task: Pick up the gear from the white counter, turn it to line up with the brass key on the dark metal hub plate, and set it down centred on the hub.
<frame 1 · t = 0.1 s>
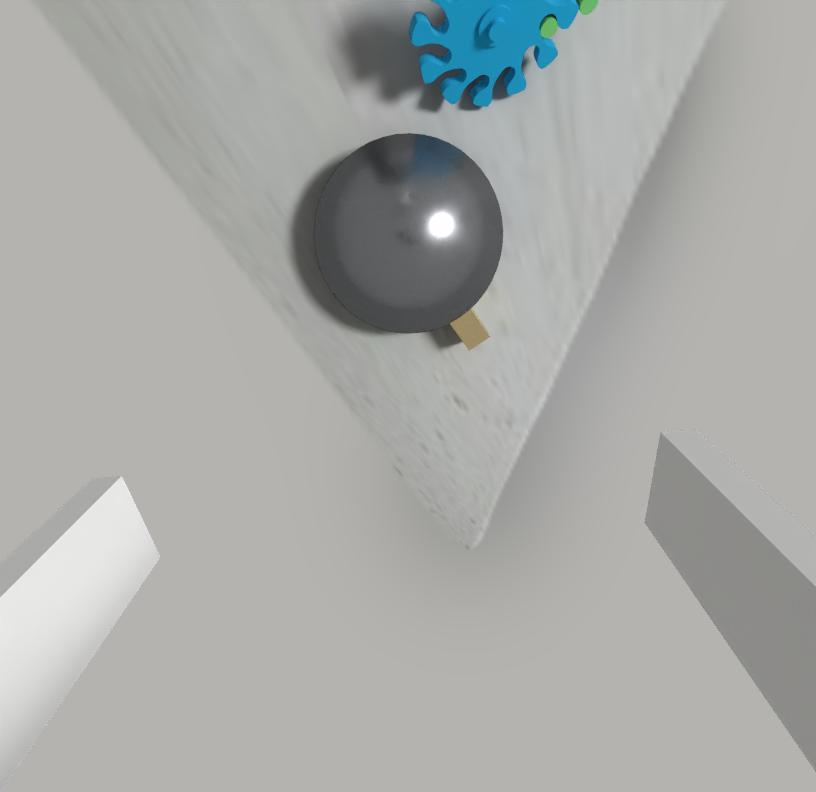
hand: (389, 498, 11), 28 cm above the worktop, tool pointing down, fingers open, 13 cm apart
hub: (408, 239, 35), on the worktop
gear: (491, 37, 29), on the worktop
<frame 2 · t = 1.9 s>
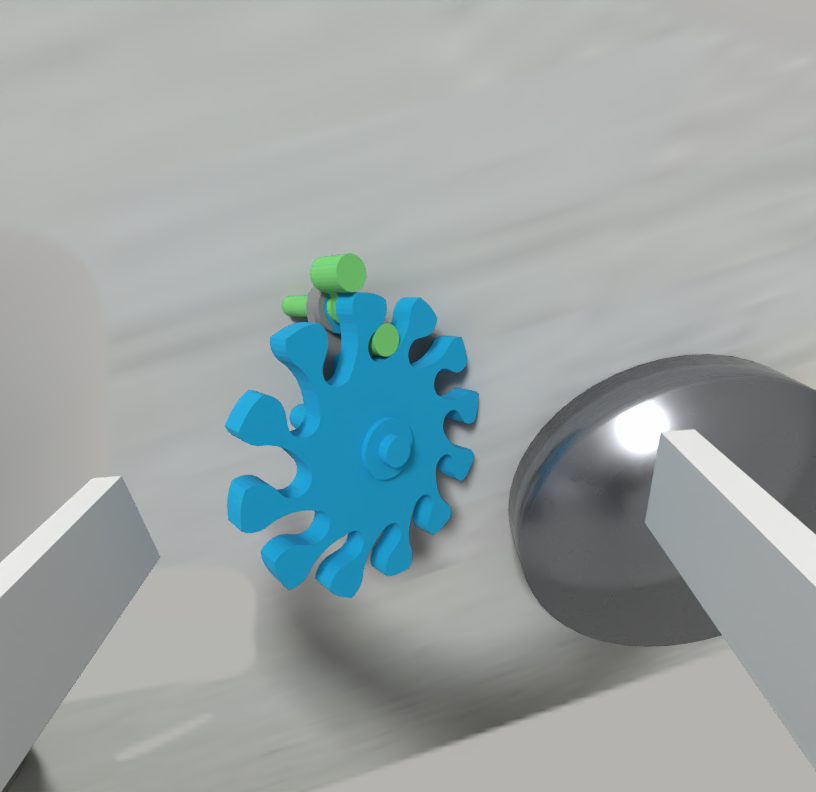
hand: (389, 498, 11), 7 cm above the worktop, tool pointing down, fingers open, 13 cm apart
hub: (659, 496, 20), on the worktop
gear: (379, 381, 18), on the worktop
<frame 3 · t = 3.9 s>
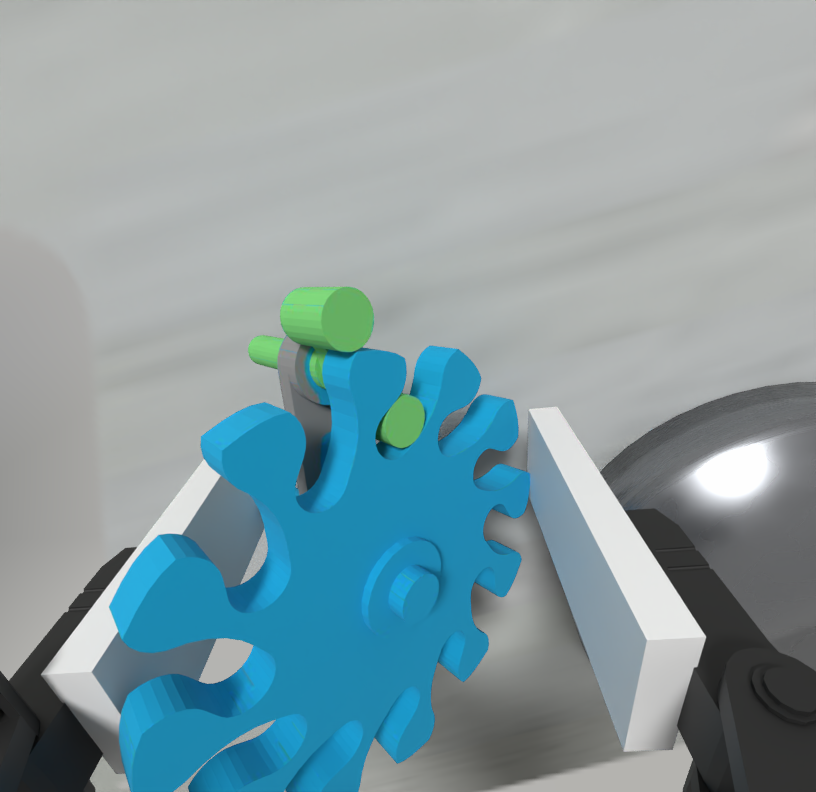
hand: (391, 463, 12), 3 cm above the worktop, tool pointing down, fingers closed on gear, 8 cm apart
hub: (744, 546, 17), on the worktop
gear: (389, 451, 13), point 2 cm above the worktop, touching gripper
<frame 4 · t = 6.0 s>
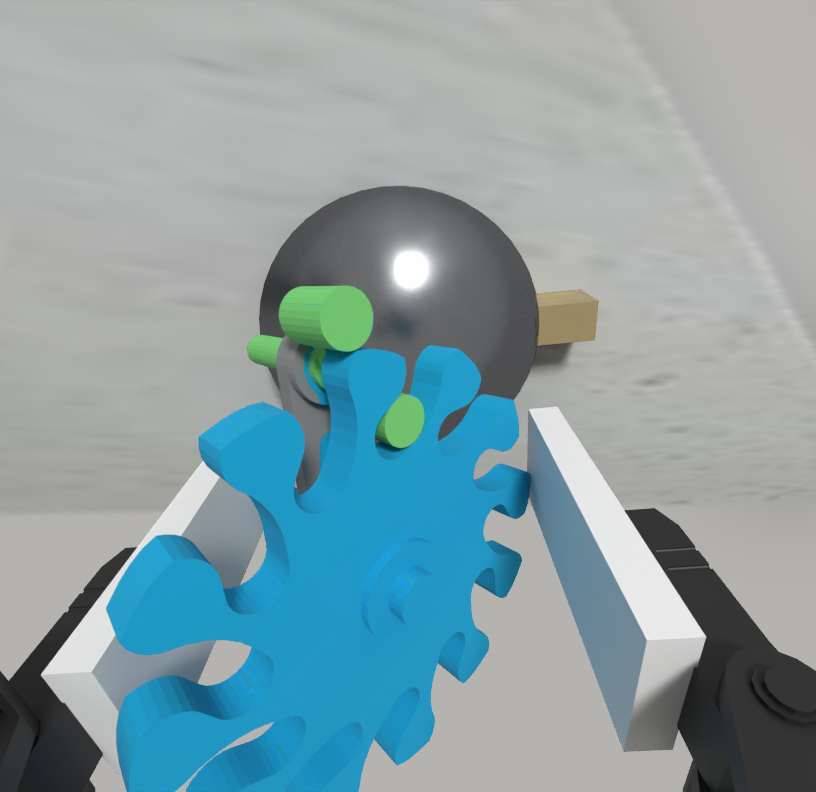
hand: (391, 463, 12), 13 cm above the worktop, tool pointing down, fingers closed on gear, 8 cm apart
hub: (400, 325, 24), on the worktop
gear: (389, 451, 13), point 13 cm above the worktop, touching gripper
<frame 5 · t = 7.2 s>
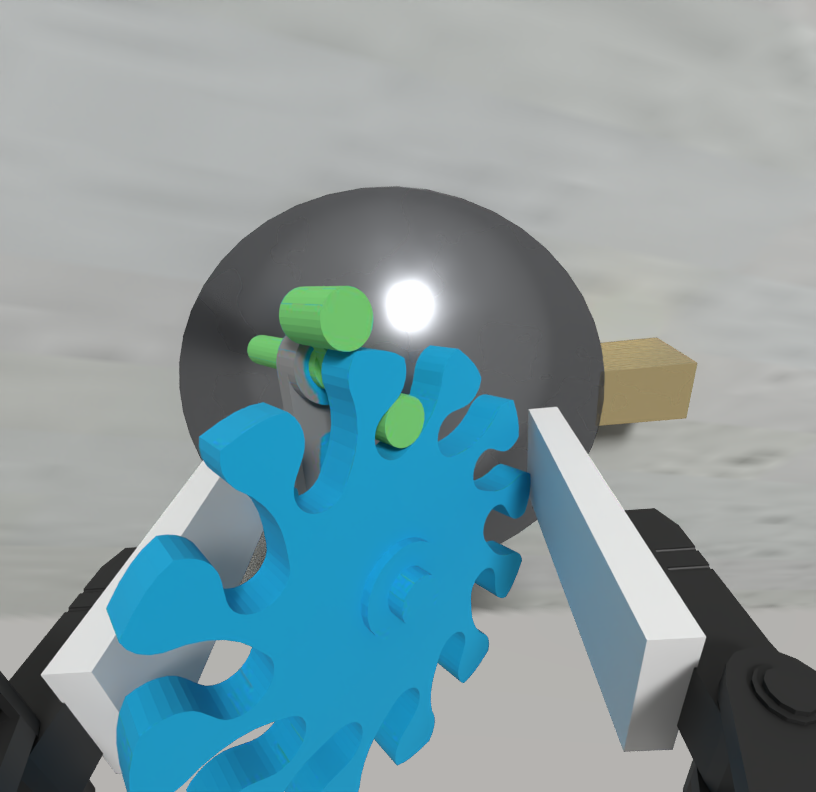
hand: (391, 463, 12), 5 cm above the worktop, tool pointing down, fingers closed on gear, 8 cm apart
hub: (394, 386, 17), on the worktop
gear: (389, 451, 13), point 5 cm above the worktop, touching gripper
when the fingers open (3 cm above the worktop, at t = 8.1 s): gear stays where it is, resting on hub.
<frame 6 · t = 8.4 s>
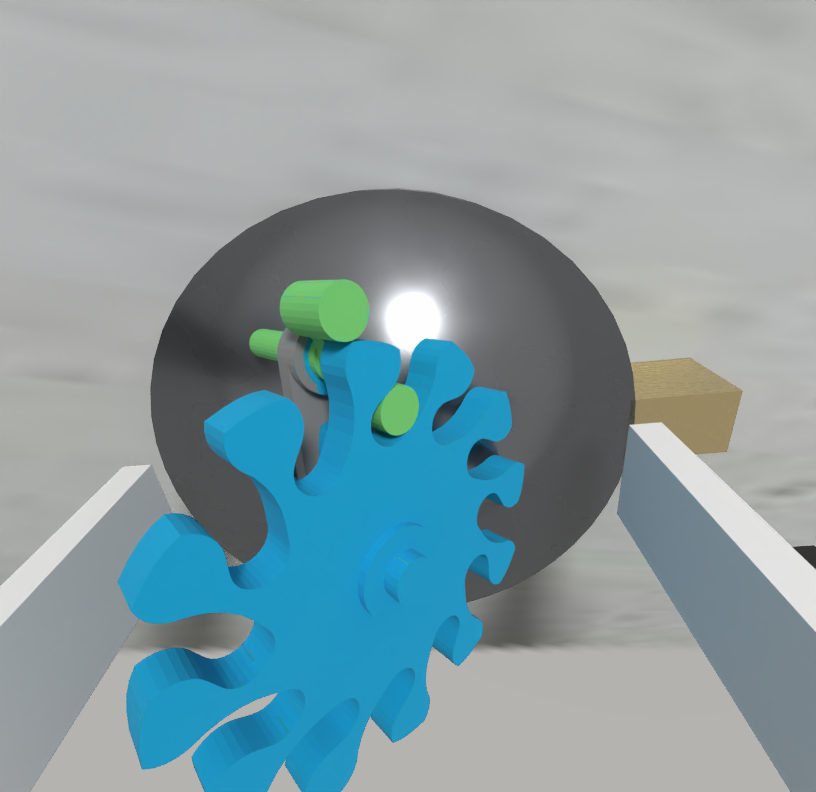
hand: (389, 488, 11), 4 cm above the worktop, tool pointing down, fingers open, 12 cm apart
hub: (395, 410, 15), on the worktop
gear: (387, 442, 13), point 2 cm above the worktop, touching hub
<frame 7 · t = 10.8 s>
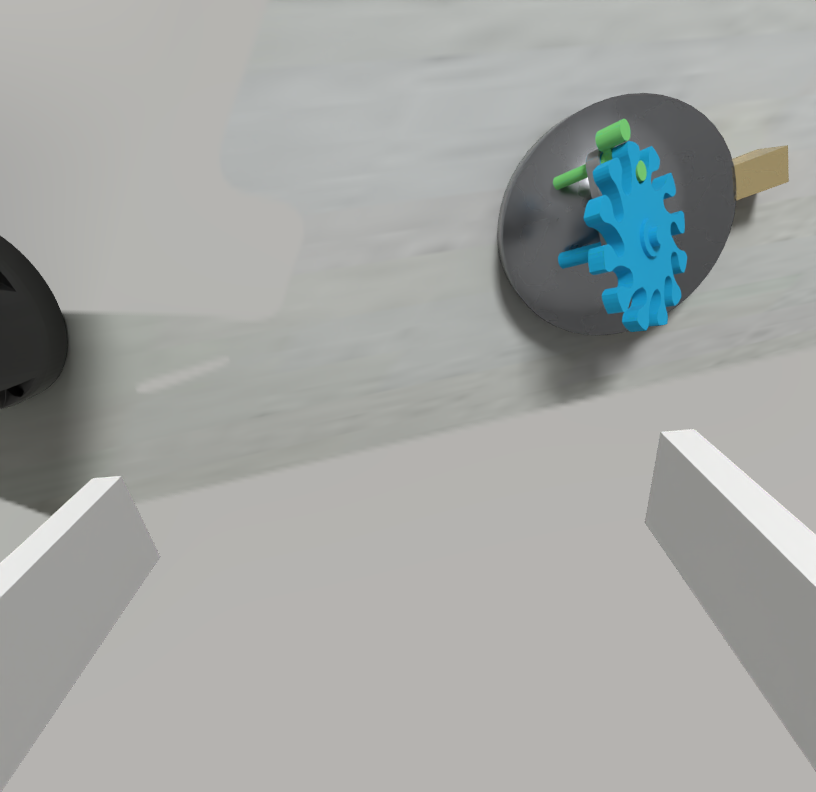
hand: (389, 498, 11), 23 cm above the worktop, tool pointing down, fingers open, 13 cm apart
hub: (601, 224, 29), on the worktop
gear: (610, 225, 27), point 2 cm above the worktop, touching hub
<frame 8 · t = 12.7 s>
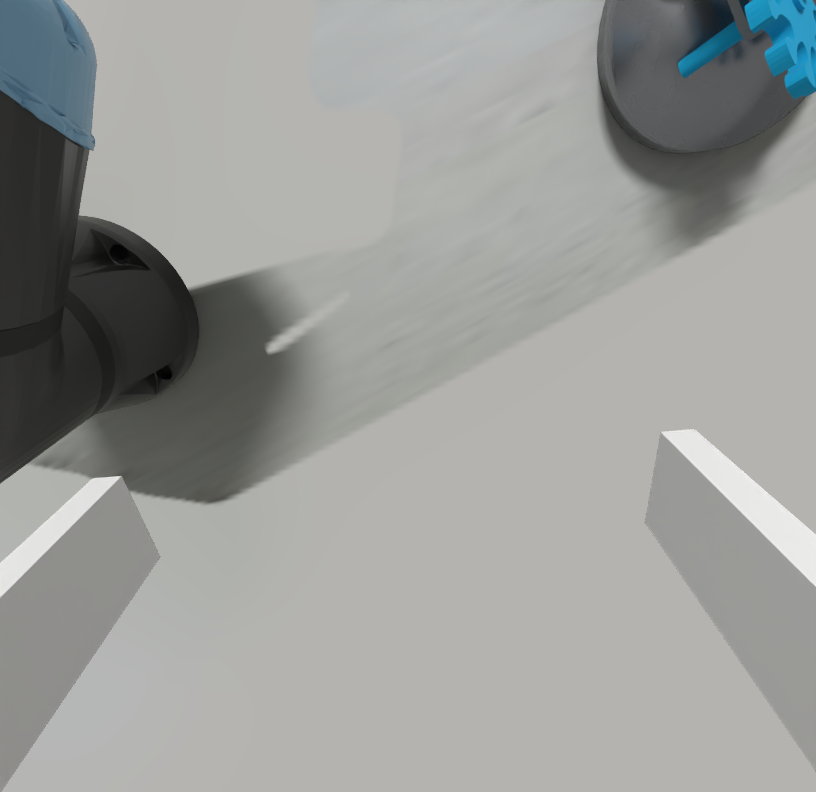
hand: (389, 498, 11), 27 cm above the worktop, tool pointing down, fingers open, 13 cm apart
hub: (709, 27, 28), on the worktop
gear: (727, 15, 26), point 2 cm above the worktop, touching hub
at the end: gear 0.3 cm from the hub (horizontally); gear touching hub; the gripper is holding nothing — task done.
